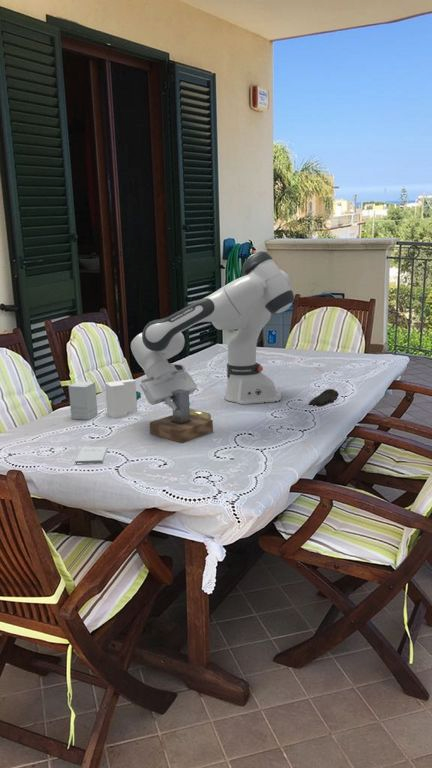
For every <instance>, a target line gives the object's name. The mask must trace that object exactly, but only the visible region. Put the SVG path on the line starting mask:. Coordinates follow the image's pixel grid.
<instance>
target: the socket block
mask: <svg viewBox="0 0 432 768" xmlns="http://www.w3.org/2000/svg"><path fill="white" fill-rule="evenodd" d="M213 431H214V423H213V419H211V420H210V419H206V418H202V417H198V416H194V415H191V414H190V422H188V423H185V424H182V425H180V424H176V423H173V414H172V415H169V416H165V417H163V418H160V419H156V420H153V421H149V434H150V435H153V436H157V437H160V438H163V439H167V440H171V441H172V442H173V441H174V442H177V443H180V444H182V443H184V442H187V441H190V440H193V439H197V438H199V437H201V436H204V435H207V434H210V433H213Z"/></svg>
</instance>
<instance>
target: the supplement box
mask: <svg viewBox="0 0 432 768" xmlns="http://www.w3.org/2000/svg"><path fill="white" fill-rule="evenodd" d="M68 395H69V405H70V406H69V407H70V417H71V419H72V420H83V421H84V420H85V421H89V420H91V419H93V418H95V417H96V416H98V415H99V413H98V401H97V389H96V382H95V381H76V382H73V383H72V384H70V385H68Z"/></svg>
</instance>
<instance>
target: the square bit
mask: <svg viewBox="0 0 432 768" xmlns="http://www.w3.org/2000/svg"><path fill="white" fill-rule="evenodd" d="M172 394H173V396H172V400H171V401H172V402H173V403H174V404H176V403H177V406H178V407H179V408H178V410H175V411H173V410H172V415H173V423H176V424H180V425H182V424H185V423H188V422H190V409H191V408H190V406H189V402H190V394H189V391H187V390H183V389H179V390H175V391H172Z"/></svg>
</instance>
